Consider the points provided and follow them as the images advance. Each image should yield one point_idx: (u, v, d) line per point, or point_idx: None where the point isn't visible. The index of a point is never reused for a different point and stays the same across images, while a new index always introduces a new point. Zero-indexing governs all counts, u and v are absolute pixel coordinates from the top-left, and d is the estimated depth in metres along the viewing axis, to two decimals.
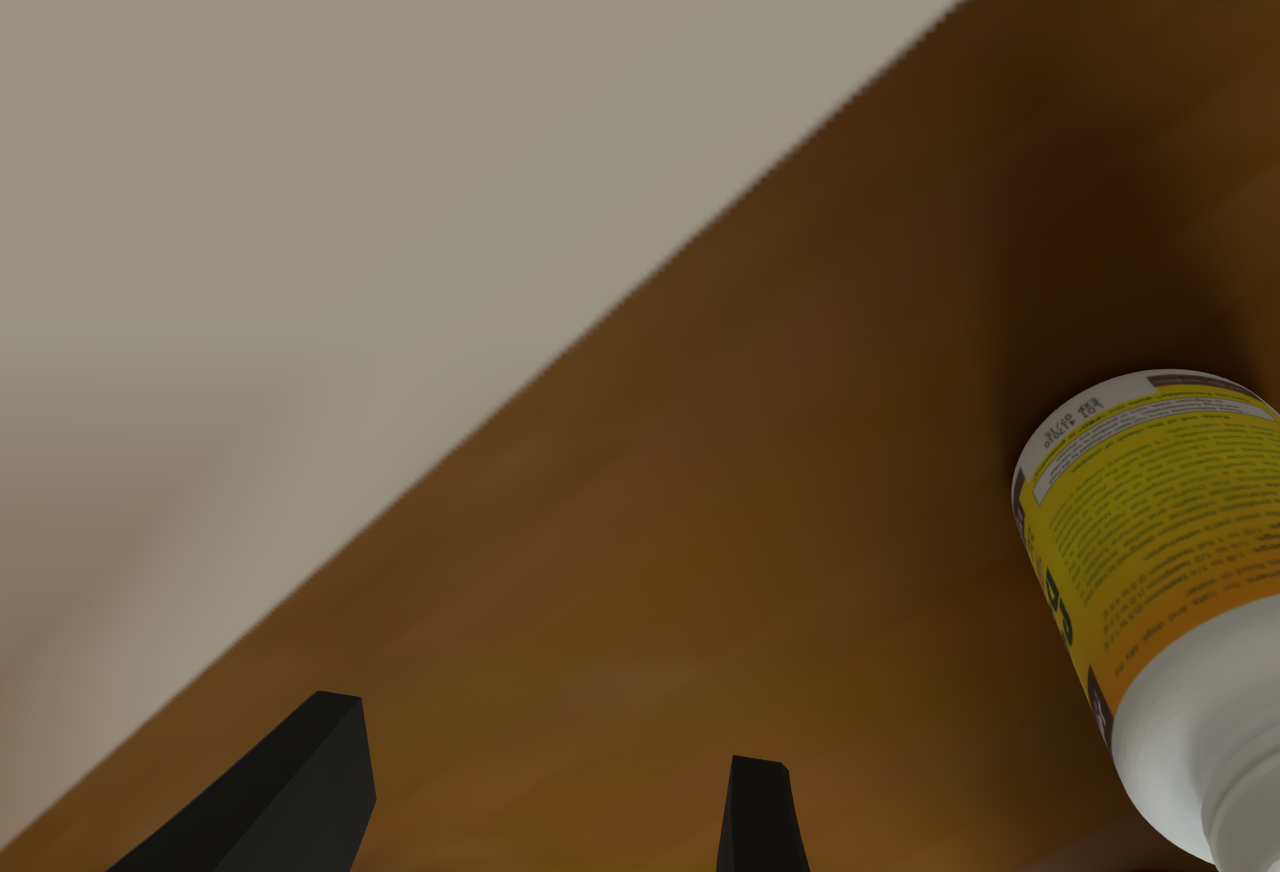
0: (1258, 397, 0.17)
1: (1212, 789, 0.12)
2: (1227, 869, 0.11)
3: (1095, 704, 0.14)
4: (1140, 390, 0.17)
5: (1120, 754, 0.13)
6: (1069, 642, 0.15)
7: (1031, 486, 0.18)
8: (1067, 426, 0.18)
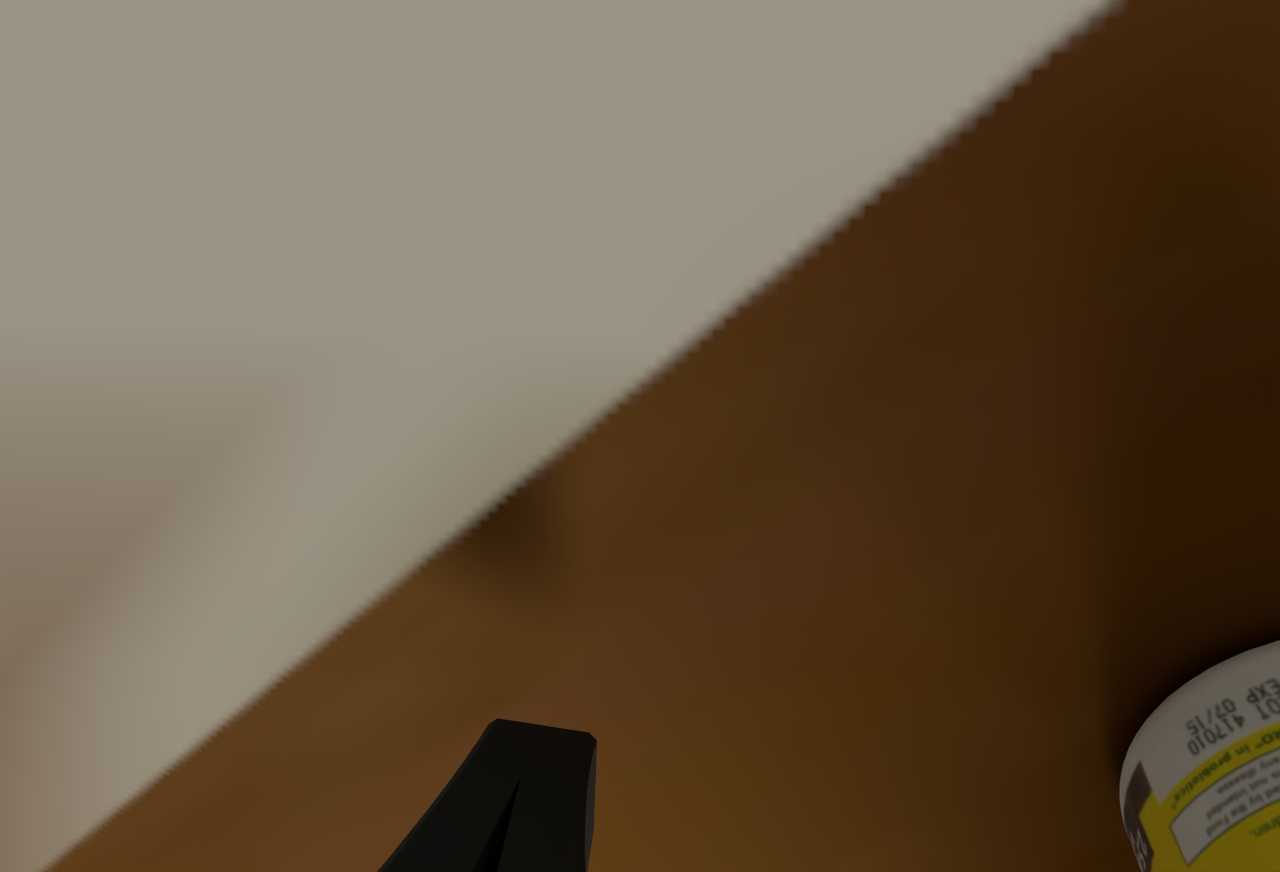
0: None
1: None
2: None
3: None
4: None
5: None
6: None
7: (1167, 815, 0.11)
8: (1230, 725, 0.11)
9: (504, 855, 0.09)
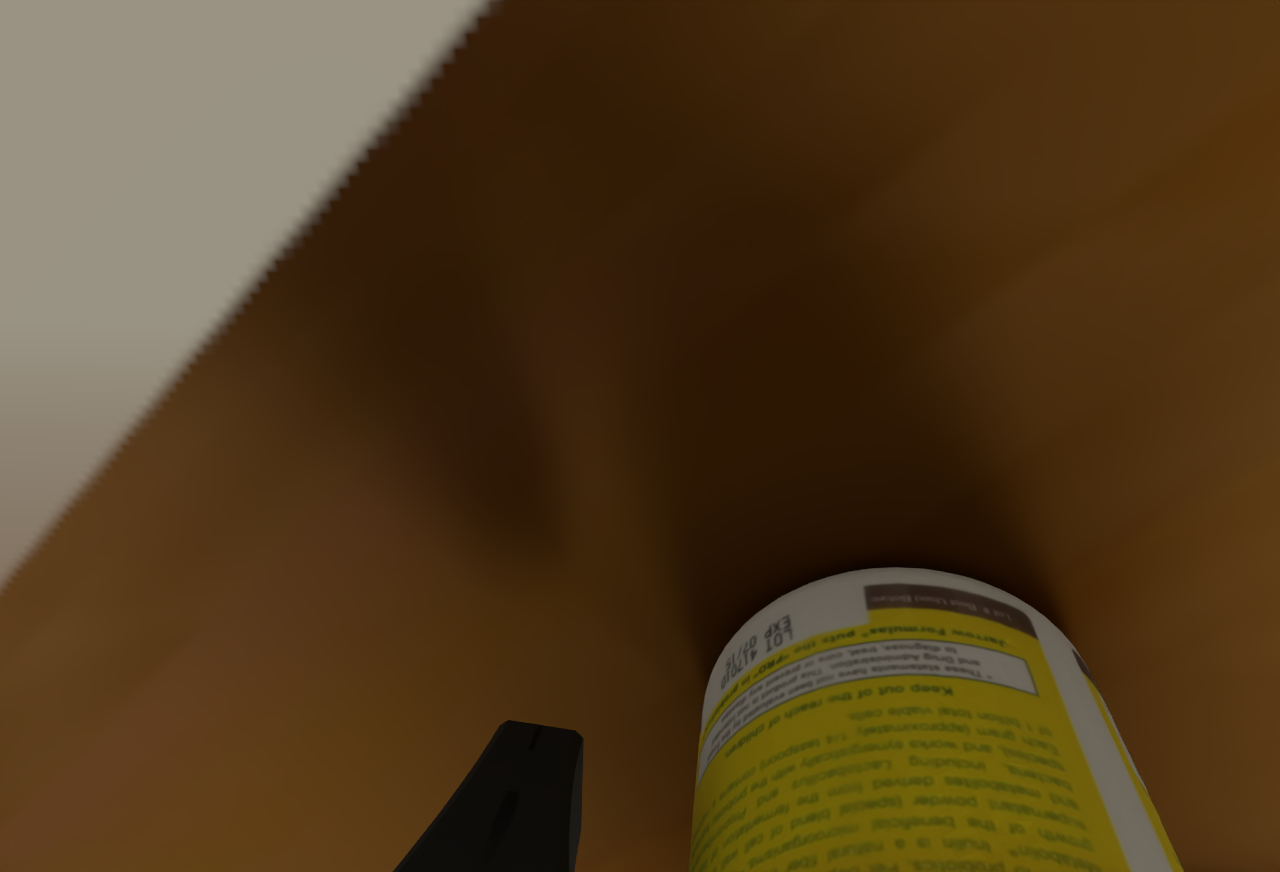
0: (1033, 621, 0.11)
1: None
2: None
3: None
4: (846, 613, 0.11)
5: None
6: None
7: (700, 748, 0.12)
8: (747, 659, 0.11)
9: (488, 852, 0.09)
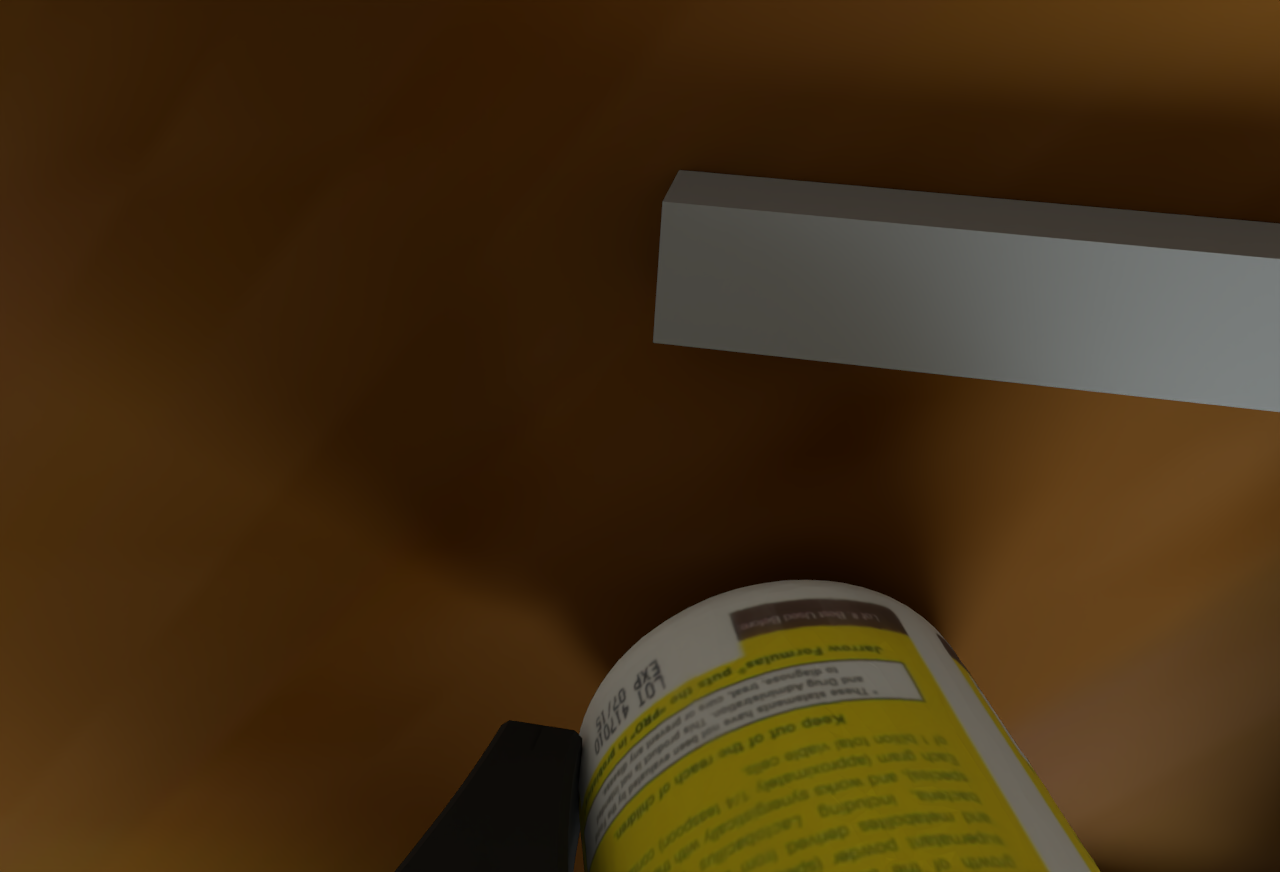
0: (899, 615, 0.11)
1: None
2: None
3: None
4: (718, 649, 0.10)
5: None
6: None
7: (583, 823, 0.10)
8: (619, 718, 0.10)
9: (486, 852, 0.09)
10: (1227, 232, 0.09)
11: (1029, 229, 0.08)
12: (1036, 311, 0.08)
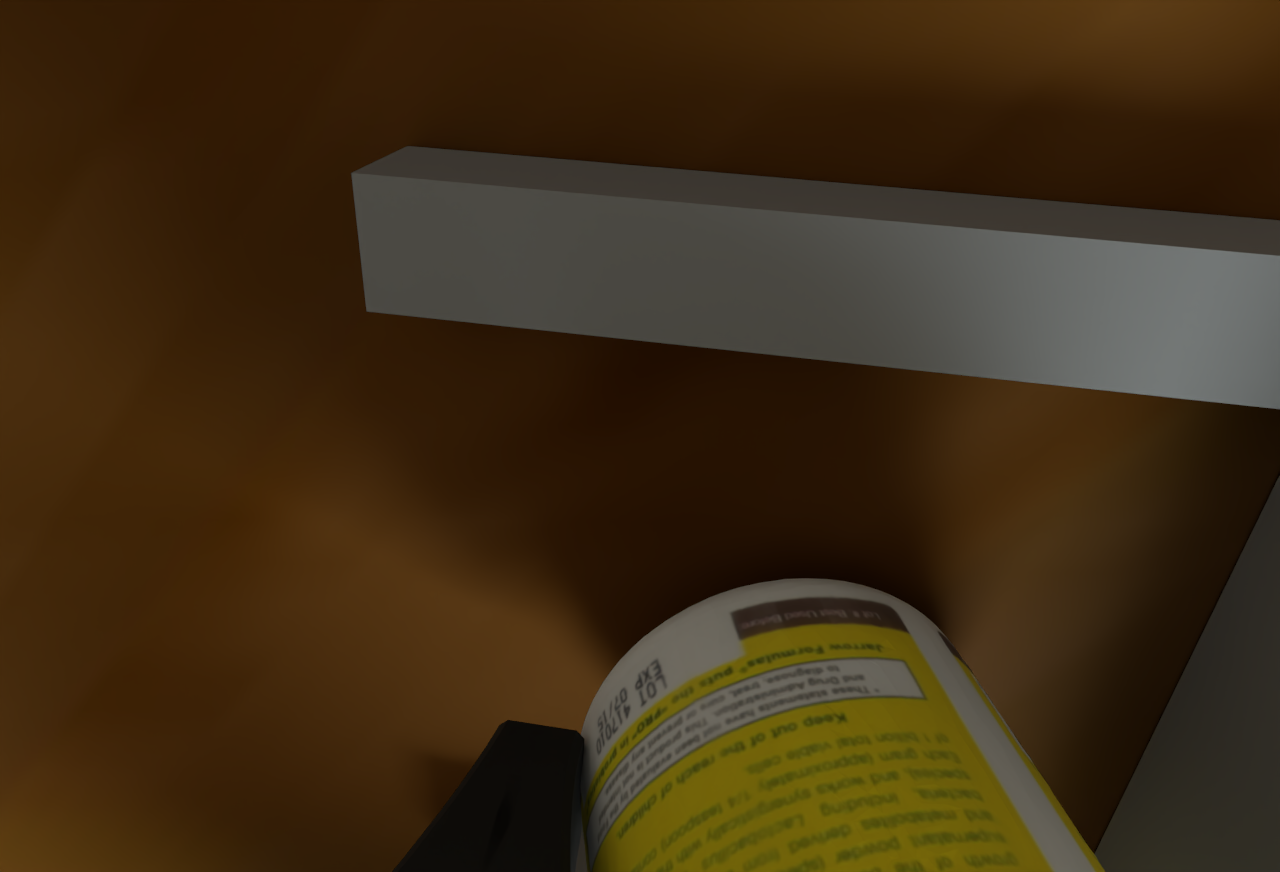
0: (900, 613, 0.11)
1: None
2: None
3: None
4: (719, 648, 0.10)
5: None
6: None
7: (585, 822, 0.10)
8: (621, 717, 0.10)
9: (489, 853, 0.09)
10: (902, 201, 0.09)
11: (700, 197, 0.09)
12: (710, 277, 0.09)
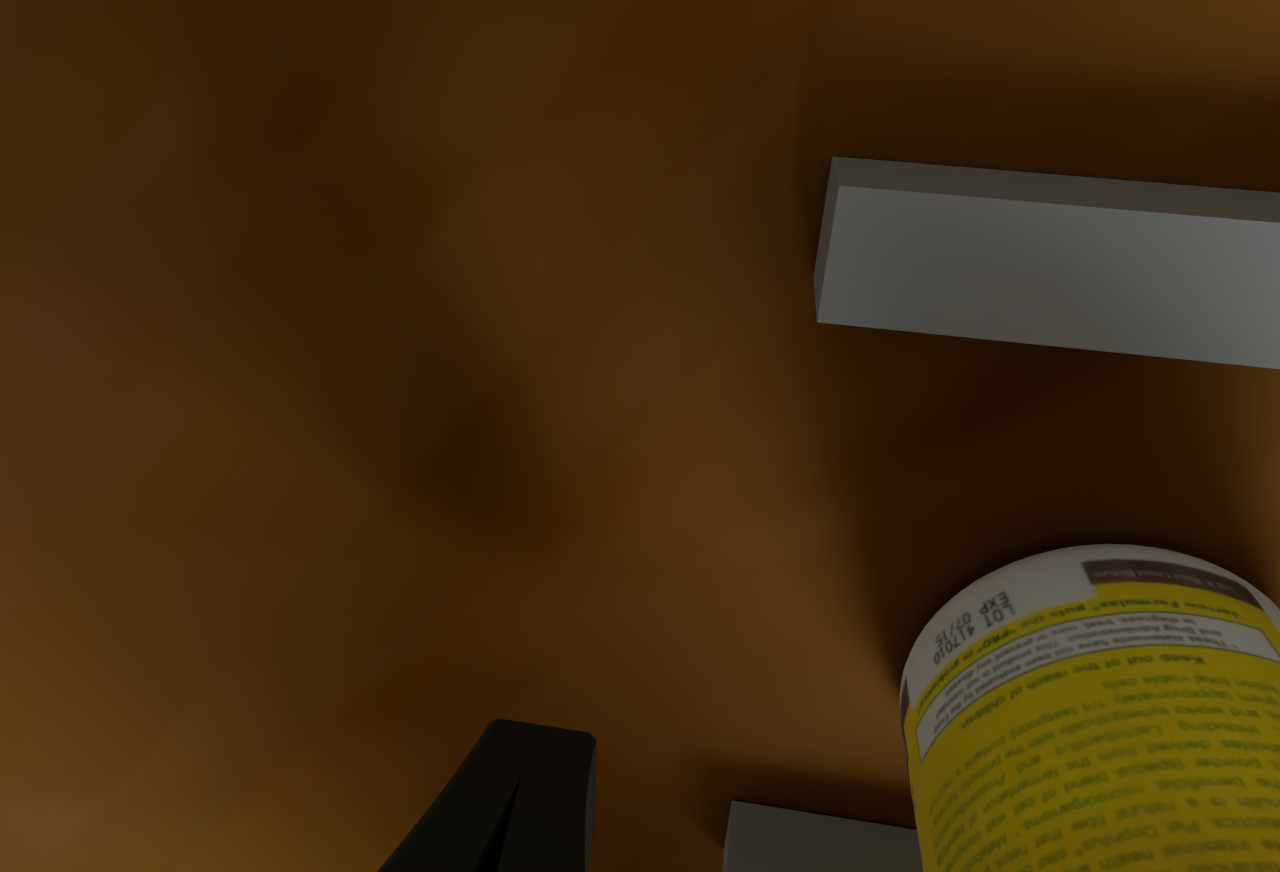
0: (1254, 594, 0.11)
1: None
2: None
3: None
4: (1070, 589, 0.11)
5: None
6: None
7: (915, 722, 0.12)
8: (964, 635, 0.12)
9: (504, 855, 0.09)
10: None
11: (1193, 210, 0.09)
12: (1198, 288, 0.09)
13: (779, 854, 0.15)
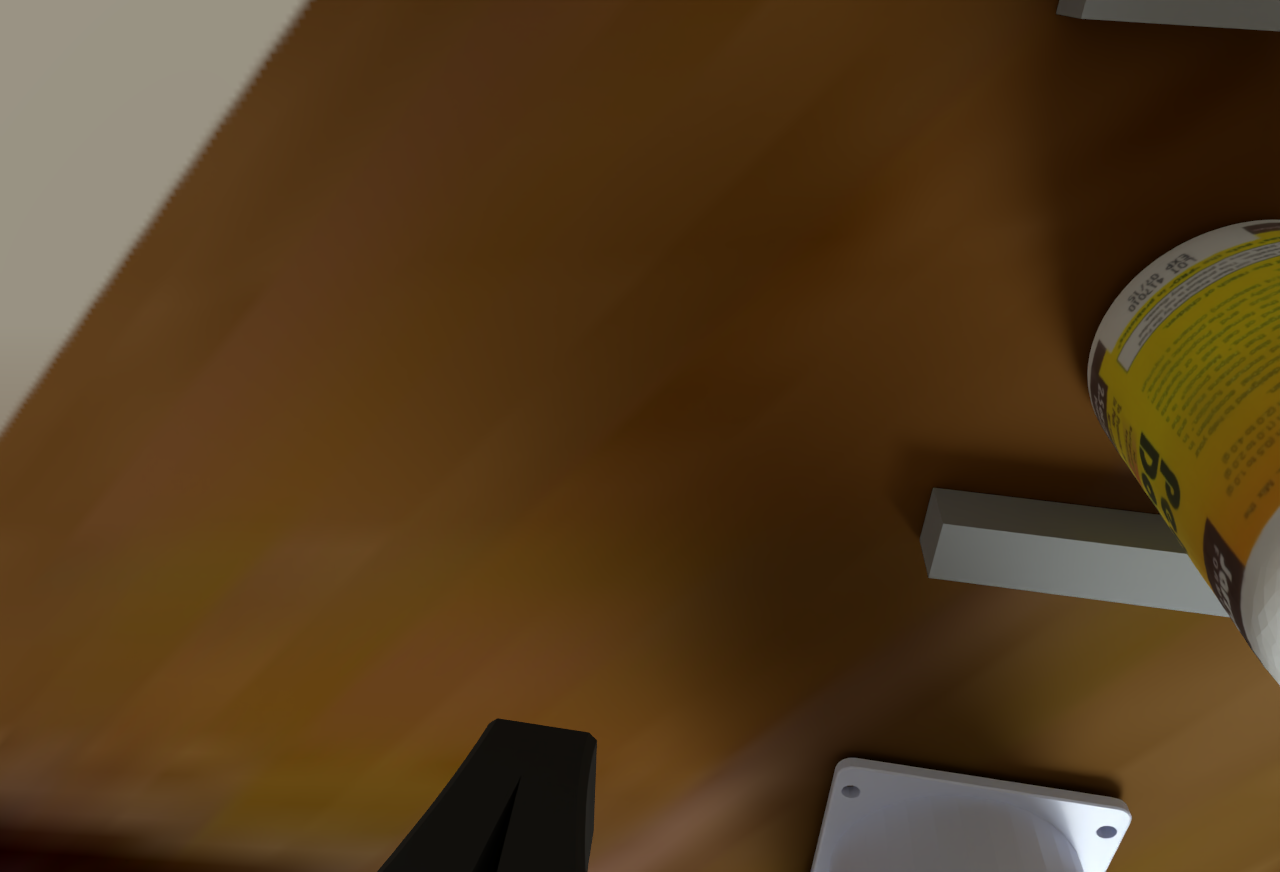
0: None
1: None
2: None
3: (1215, 561, 0.13)
4: (1237, 239, 0.15)
5: (1254, 605, 0.12)
6: (1174, 506, 0.14)
7: (1115, 355, 0.16)
8: (1154, 285, 0.16)
9: (504, 855, 0.09)
10: None
11: None
12: None
13: (979, 514, 0.19)
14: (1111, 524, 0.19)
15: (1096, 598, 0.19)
